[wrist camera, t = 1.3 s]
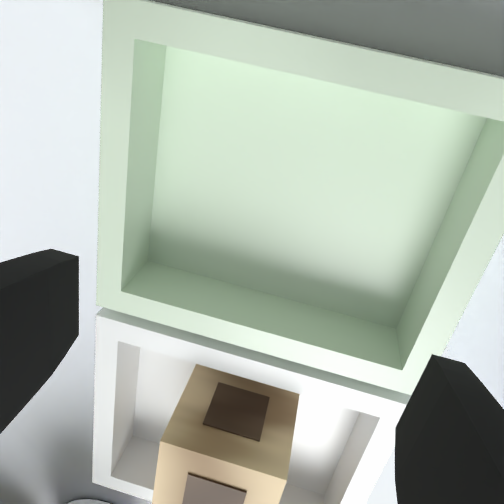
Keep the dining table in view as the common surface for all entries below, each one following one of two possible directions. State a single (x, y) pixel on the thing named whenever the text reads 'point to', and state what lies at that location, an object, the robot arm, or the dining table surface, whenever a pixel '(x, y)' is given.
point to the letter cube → (226, 442)
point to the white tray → (247, 366)
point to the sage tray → (293, 189)
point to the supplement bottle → (87, 502)
